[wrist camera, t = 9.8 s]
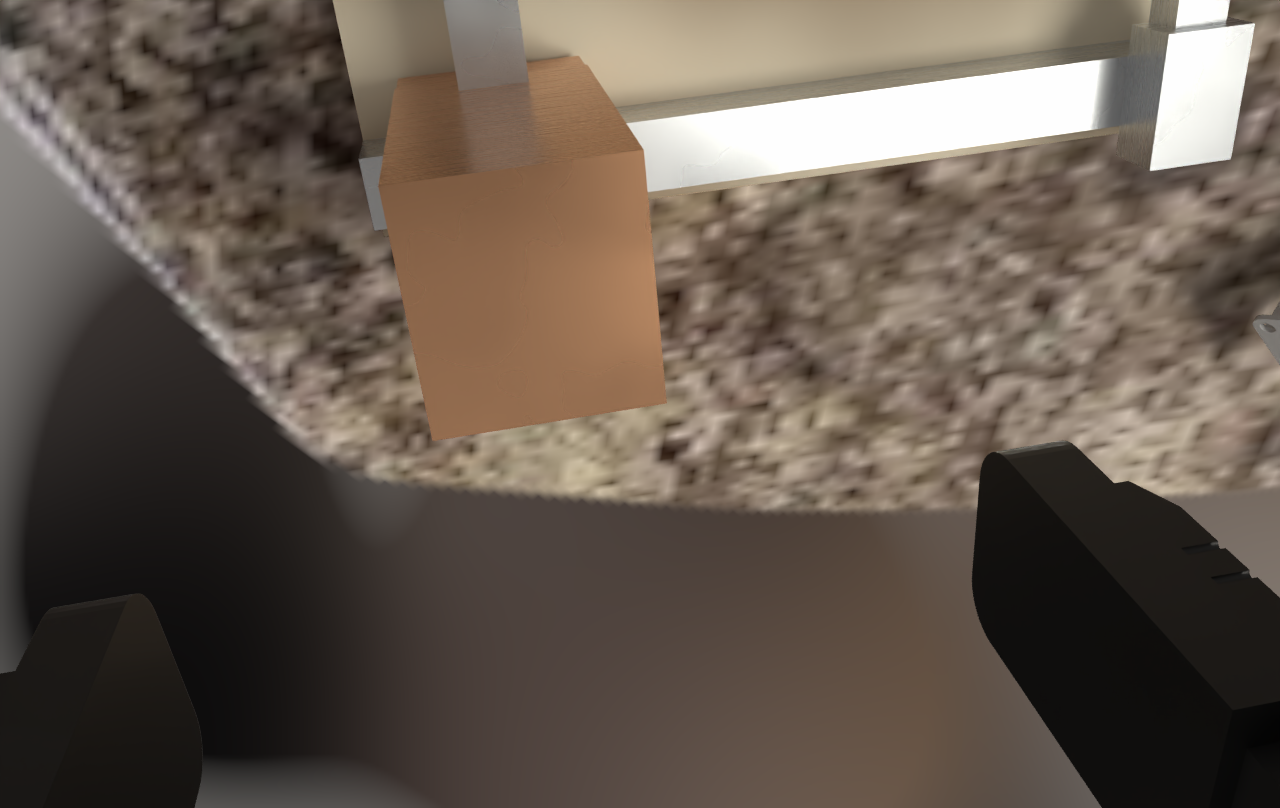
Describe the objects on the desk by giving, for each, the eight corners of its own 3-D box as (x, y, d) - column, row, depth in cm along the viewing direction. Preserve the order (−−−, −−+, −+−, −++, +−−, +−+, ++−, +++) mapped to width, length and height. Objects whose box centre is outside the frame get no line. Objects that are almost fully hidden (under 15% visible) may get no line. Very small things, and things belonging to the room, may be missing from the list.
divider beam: (302, -137, 21) (284, -134, 19) (1226, -234, 23) (1324, -242, 21) (384, 237, 25) (378, 283, 23) (1172, 125, 27) (1250, 156, 25)
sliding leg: (352, -153, 21) (306, -148, 14) (552, -174, 22) (614, -180, 14) (433, 263, 25) (432, 440, 18) (599, 238, 26) (666, 403, 18)
